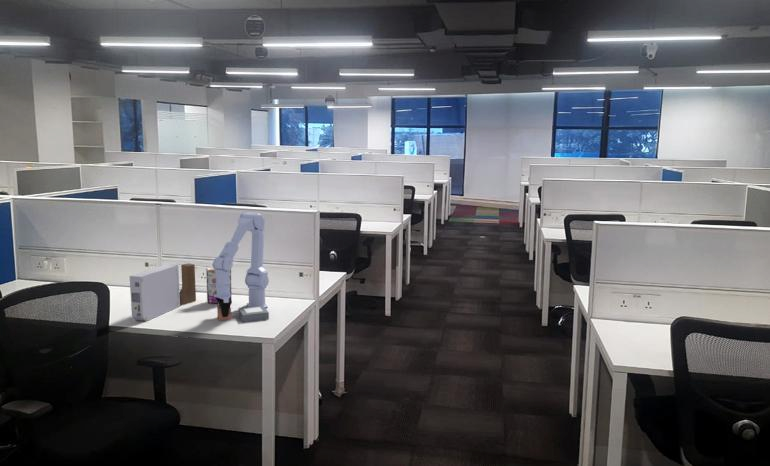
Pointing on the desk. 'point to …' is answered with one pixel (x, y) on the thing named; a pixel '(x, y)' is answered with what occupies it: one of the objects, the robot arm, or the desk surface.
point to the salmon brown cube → (221, 314)
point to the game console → (154, 292)
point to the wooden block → (188, 284)
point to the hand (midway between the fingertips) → (224, 315)
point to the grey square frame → (253, 313)
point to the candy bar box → (213, 285)
